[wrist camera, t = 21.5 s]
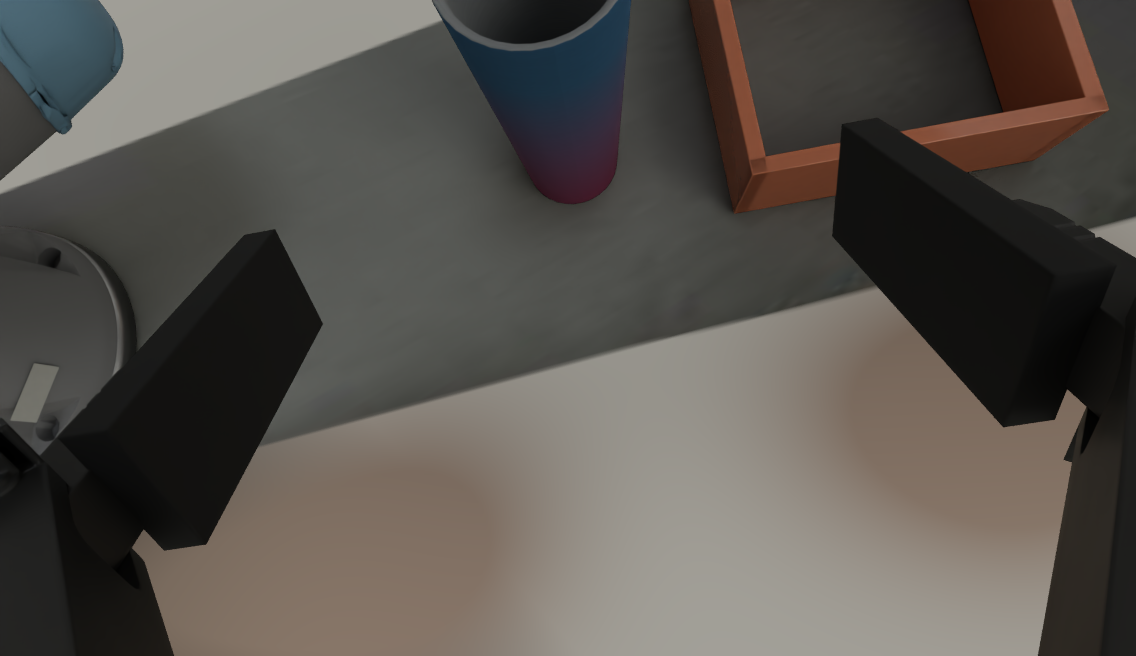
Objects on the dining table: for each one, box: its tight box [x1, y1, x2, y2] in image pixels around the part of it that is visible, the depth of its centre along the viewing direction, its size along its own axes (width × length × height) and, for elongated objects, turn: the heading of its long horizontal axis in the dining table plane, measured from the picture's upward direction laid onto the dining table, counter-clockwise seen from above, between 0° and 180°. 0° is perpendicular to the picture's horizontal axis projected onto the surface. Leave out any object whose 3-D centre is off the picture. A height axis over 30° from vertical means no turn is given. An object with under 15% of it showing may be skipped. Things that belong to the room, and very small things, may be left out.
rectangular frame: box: [689, 0, 1109, 213], centre depth 30 cm, size 16×14×5 cm
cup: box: [432, 0, 631, 204], centre depth 26 cm, size 7×7×15 cm
